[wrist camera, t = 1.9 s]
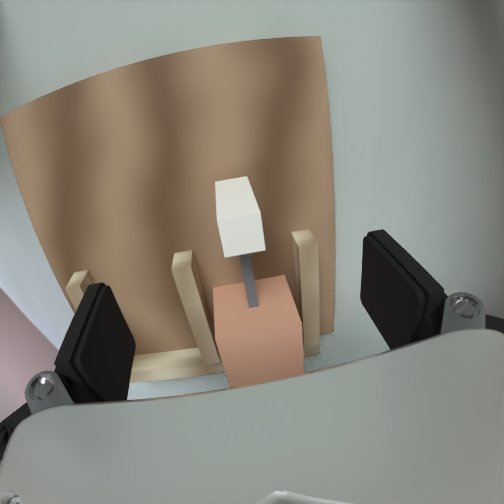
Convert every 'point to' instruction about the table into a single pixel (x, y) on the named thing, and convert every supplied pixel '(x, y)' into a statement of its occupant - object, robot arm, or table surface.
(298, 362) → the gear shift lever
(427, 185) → the table surface
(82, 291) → the lane shelf
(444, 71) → the table surface
